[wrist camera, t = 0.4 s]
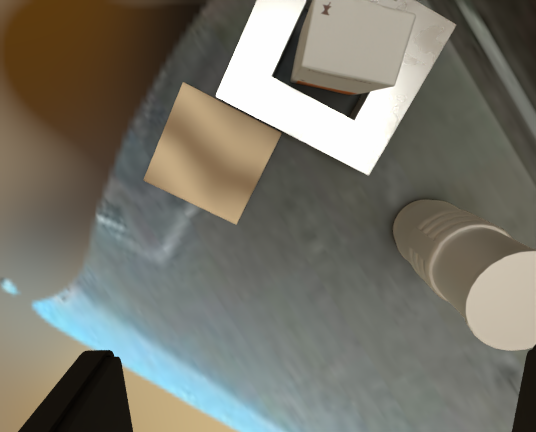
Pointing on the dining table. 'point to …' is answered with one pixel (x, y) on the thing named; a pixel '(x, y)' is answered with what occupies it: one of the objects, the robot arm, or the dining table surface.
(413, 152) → the dining table surface
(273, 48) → the white rectangular frame
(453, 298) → the white ribbed canister
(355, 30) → the skincare box
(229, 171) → the wooden coaster
